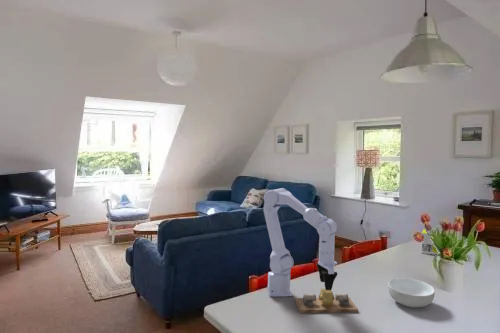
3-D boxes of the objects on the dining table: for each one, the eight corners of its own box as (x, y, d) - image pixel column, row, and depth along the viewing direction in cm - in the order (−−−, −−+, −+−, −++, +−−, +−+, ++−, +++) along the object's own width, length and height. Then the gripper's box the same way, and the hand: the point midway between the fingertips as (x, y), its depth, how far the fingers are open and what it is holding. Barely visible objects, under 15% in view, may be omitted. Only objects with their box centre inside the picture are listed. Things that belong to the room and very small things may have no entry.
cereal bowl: (378, 298, 145) (378, 281, 145) (408, 291, 152) (409, 275, 151) (412, 316, 130) (412, 298, 129) (444, 308, 136) (444, 290, 136)
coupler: (320, 305, 135) (320, 293, 135) (317, 301, 139) (318, 288, 139) (334, 305, 135) (335, 292, 135) (331, 301, 139) (332, 288, 139)
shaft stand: (299, 312, 132) (299, 300, 132) (295, 301, 142) (295, 289, 142) (357, 312, 133) (358, 299, 132) (349, 300, 143) (349, 288, 142)
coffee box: (444, 256, 200) (445, 235, 199) (420, 253, 206) (421, 232, 205) (445, 251, 211) (446, 230, 210) (422, 248, 217) (423, 228, 216)
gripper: (342, 257, 129) (341, 293, 130) (331, 245, 143) (331, 278, 144) (323, 257, 129) (322, 293, 129) (314, 245, 143) (313, 278, 144)
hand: (325, 285), depth 137 cm, fingers open, 7 cm apart
